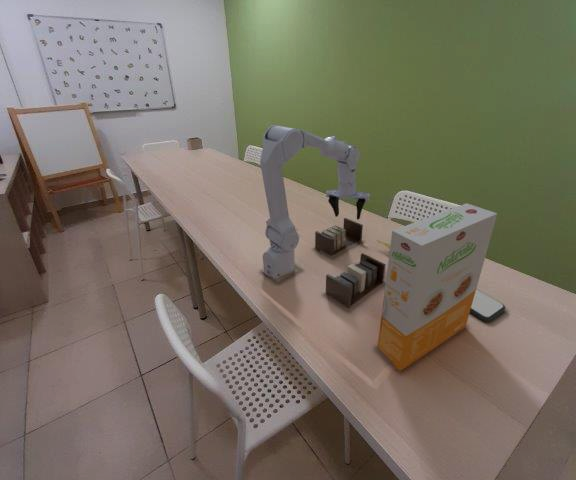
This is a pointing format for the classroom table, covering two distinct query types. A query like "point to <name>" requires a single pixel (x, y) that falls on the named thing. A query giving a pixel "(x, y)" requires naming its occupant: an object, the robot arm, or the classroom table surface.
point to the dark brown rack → (338, 237)
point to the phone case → (485, 307)
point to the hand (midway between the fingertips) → (347, 216)
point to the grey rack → (355, 282)
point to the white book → (357, 276)
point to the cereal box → (432, 281)
